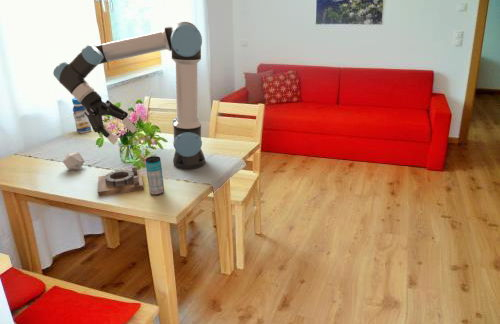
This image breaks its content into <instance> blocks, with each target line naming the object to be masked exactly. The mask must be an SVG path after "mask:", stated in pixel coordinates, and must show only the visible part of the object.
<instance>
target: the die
mask: <svg viewBox="0 0 500 324" xmlns="http://www.w3.org/2000/svg"><path fill="white" fill-rule="evenodd" d="M85 160H86V159H84V157H83V156H82V155H81V152H68V153H67V154H66V155H65V157H64V159H63V161H62V163H63V164H64V165H65V167H66V168H67V170H68V171H81V169H82V167H83V165H84V163H85Z"/></svg>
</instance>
